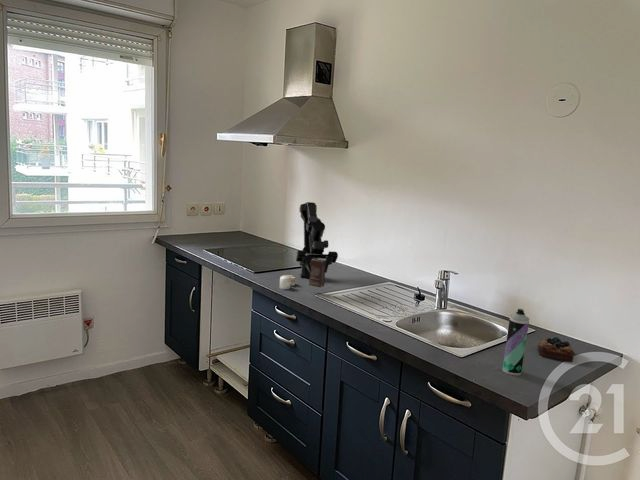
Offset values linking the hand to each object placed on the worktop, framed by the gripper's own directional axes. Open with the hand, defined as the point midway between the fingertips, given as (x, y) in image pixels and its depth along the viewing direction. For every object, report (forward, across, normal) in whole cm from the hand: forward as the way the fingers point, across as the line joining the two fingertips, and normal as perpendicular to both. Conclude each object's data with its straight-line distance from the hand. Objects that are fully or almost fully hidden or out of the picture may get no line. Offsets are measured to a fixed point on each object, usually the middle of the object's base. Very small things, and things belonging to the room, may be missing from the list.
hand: (318, 272), depth 217 cm
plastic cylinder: (+1, -14, +14) cm, 19 cm away
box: (+4, 0, +6) cm, 7 cm away
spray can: (+64, +47, -51) cm, 95 cm away
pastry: (+55, +72, -41) cm, 100 cm away
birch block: (-4, -11, +18) cm, 22 cm away
